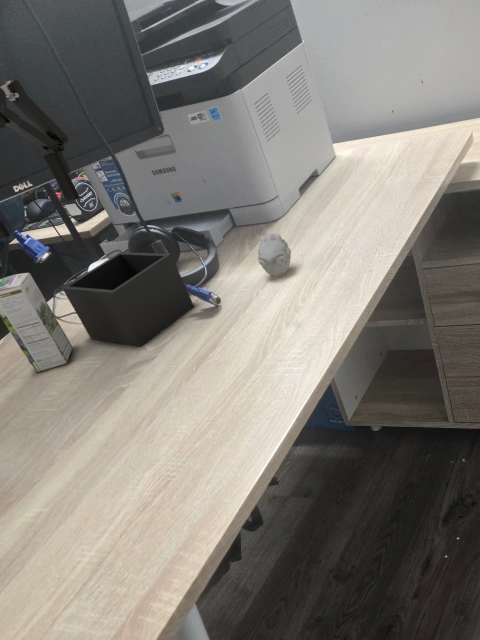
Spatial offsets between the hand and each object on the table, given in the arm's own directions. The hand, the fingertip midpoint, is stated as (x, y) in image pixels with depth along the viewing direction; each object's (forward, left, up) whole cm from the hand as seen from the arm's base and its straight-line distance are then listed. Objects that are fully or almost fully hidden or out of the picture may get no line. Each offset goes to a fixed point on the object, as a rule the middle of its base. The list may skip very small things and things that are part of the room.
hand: (39, 217), depth 99 cm
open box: (+1, +7, -22) cm, 23 cm away
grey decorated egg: (+18, +27, -22) cm, 39 cm away
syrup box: (-7, -7, -22) cm, 24 cm away
